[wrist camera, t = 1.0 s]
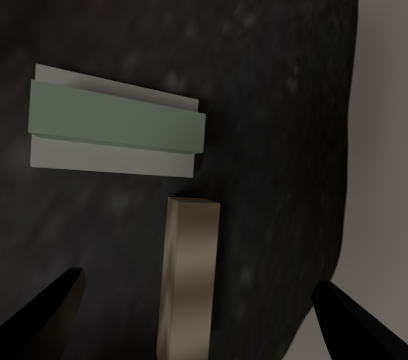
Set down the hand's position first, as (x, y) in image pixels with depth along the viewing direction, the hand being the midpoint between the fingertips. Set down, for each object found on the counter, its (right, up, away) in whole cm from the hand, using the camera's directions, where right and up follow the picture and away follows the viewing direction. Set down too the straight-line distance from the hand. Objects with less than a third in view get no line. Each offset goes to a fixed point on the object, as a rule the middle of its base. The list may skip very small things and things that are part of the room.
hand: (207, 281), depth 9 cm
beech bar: (-3, -5, +14) cm, 15 cm away
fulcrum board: (-7, +8, +11) cm, 15 cm away
